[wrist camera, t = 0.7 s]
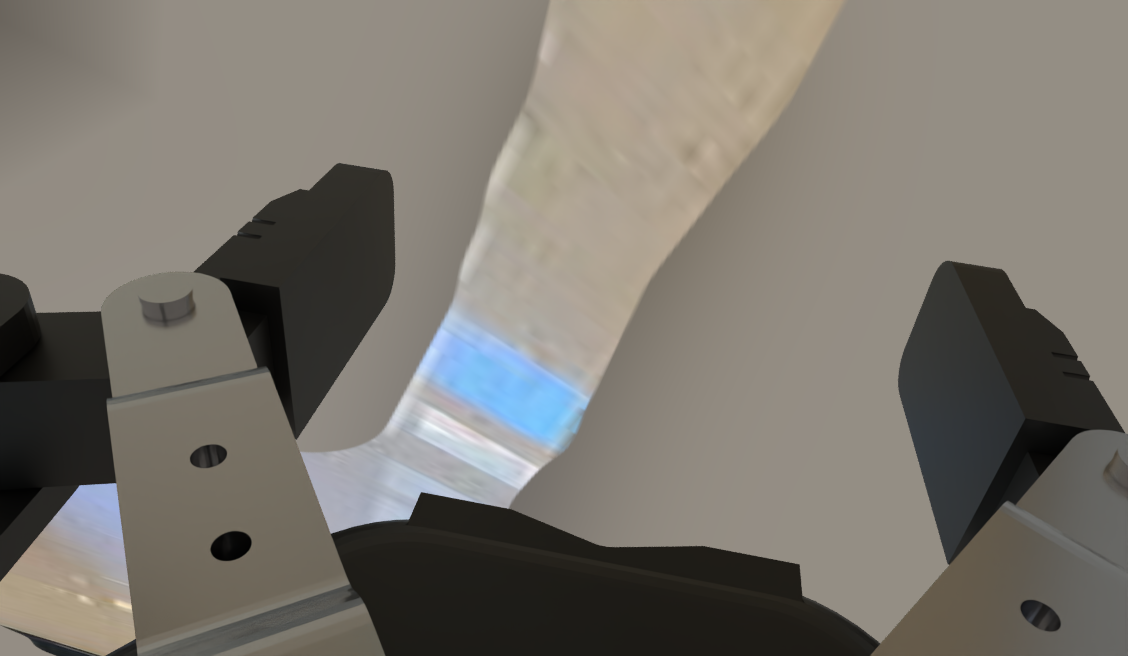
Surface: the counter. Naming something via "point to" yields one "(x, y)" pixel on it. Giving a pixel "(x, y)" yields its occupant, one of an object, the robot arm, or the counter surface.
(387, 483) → the counter surface
